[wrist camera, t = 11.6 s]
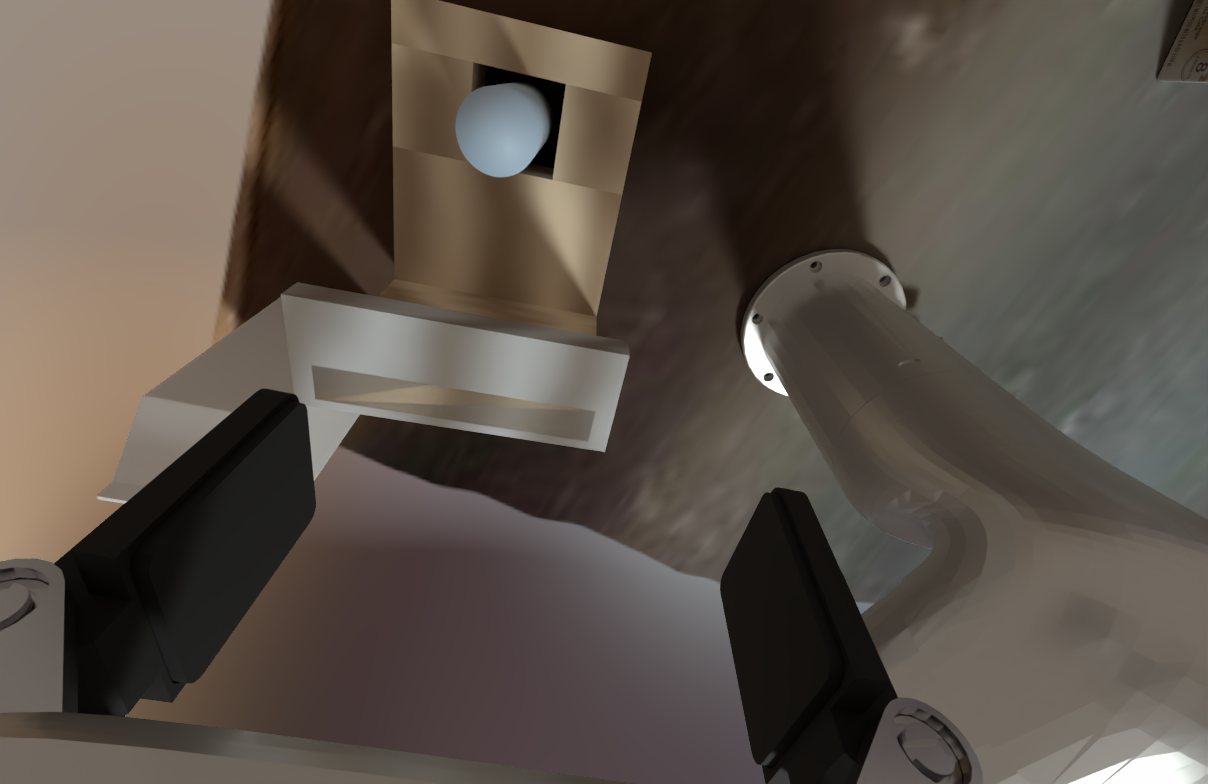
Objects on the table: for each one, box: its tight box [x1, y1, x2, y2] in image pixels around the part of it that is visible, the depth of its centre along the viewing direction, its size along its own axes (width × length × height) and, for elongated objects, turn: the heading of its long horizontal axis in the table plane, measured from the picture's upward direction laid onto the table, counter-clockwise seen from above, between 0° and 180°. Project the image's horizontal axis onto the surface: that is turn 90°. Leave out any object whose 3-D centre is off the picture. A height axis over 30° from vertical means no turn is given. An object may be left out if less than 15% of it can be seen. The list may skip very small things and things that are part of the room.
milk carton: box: [97, 297, 360, 504], centre depth 34 cm, size 7×7×19 cm
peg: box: [455, 82, 554, 177], centre depth 29 cm, size 4×4×10 cm
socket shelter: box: [281, 0, 652, 452], centre depth 29 cm, size 16×18×16 cm
